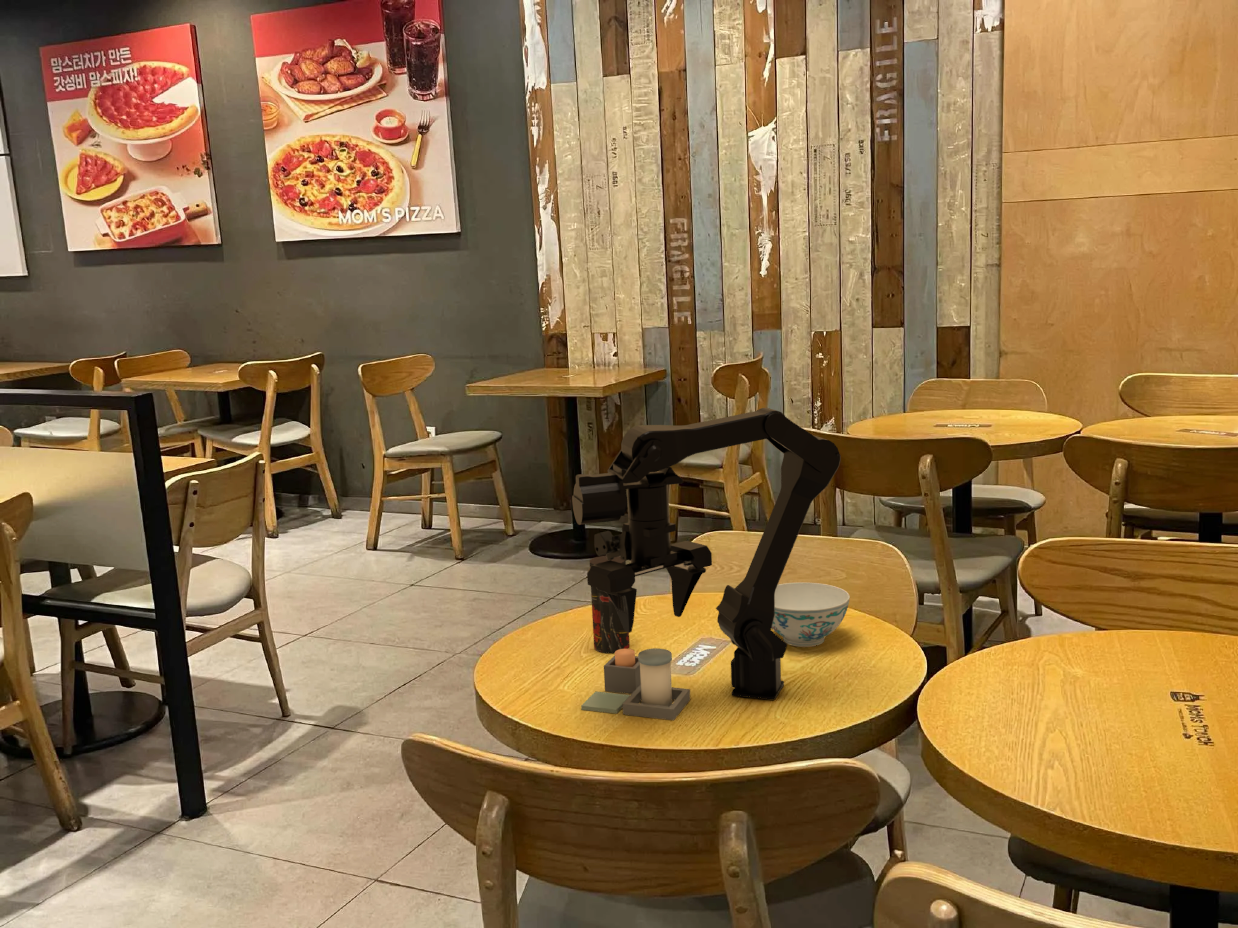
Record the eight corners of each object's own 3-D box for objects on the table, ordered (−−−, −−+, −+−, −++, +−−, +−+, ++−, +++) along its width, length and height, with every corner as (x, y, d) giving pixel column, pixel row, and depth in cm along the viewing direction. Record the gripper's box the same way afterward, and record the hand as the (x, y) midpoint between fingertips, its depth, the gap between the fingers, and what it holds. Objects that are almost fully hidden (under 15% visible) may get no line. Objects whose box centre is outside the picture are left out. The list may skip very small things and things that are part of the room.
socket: (690, 699, 160) (689, 688, 160) (673, 720, 153) (673, 709, 153) (641, 694, 163) (640, 683, 163) (623, 714, 156) (622, 703, 156)
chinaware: (756, 655, 177) (755, 609, 175) (760, 624, 191) (759, 581, 190) (851, 656, 174) (851, 610, 173) (848, 625, 189) (847, 582, 187)
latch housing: (647, 681, 168) (646, 657, 167) (636, 694, 163) (635, 668, 162) (617, 678, 169) (615, 654, 169) (604, 691, 165) (603, 665, 164)
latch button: (638, 674, 167) (637, 649, 166) (631, 681, 164) (630, 656, 163) (620, 672, 168) (619, 647, 167) (613, 679, 165) (611, 654, 164)
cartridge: (678, 702, 160) (676, 649, 158) (667, 715, 155) (665, 661, 154) (647, 698, 161) (644, 646, 160) (635, 711, 157) (633, 658, 155)
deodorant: (629, 652, 180) (625, 564, 178) (593, 654, 181) (588, 565, 178) (629, 640, 186) (625, 554, 184) (594, 641, 186) (590, 556, 184)
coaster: (630, 698, 162) (630, 694, 161) (616, 713, 157) (616, 709, 156) (595, 695, 164) (595, 691, 163) (581, 709, 158) (581, 705, 158)
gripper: (661, 497, 165) (665, 597, 168) (560, 519, 154) (566, 626, 156) (712, 508, 156) (716, 613, 159) (610, 532, 145) (615, 645, 148)
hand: (653, 623), depth 156 cm, fingers open, 9 cm apart
